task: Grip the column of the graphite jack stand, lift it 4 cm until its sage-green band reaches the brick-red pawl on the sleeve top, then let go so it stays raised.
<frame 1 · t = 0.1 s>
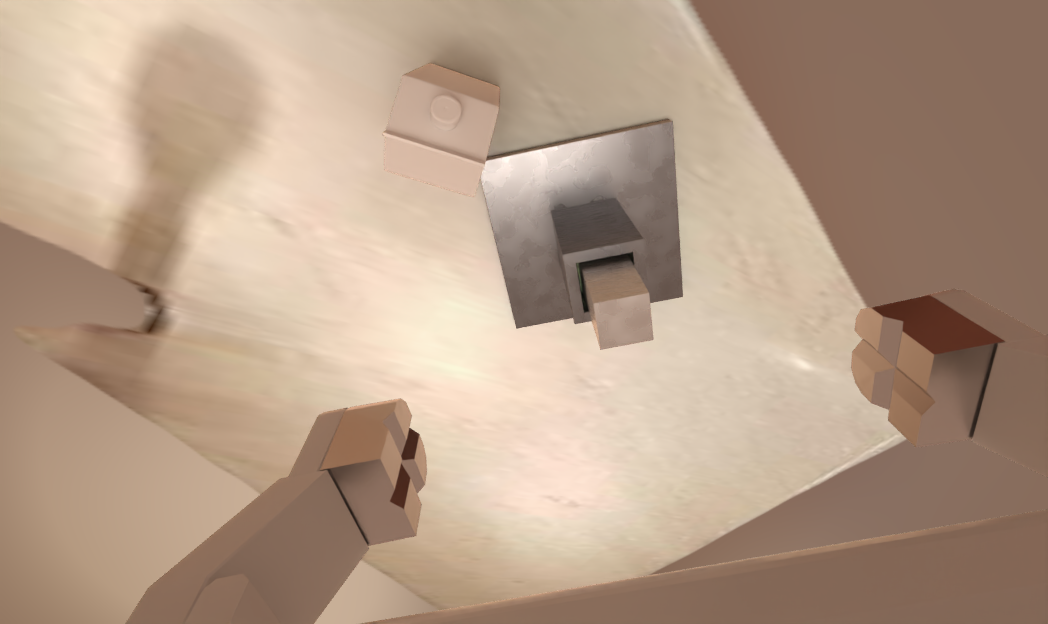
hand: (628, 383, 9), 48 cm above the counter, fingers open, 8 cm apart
jack base: (585, 230, 59), on the counter
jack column: (603, 273, 48), point 12 cm above the counter, slide at 0.0 cm
milk carton: (456, 111, 52), on the counter
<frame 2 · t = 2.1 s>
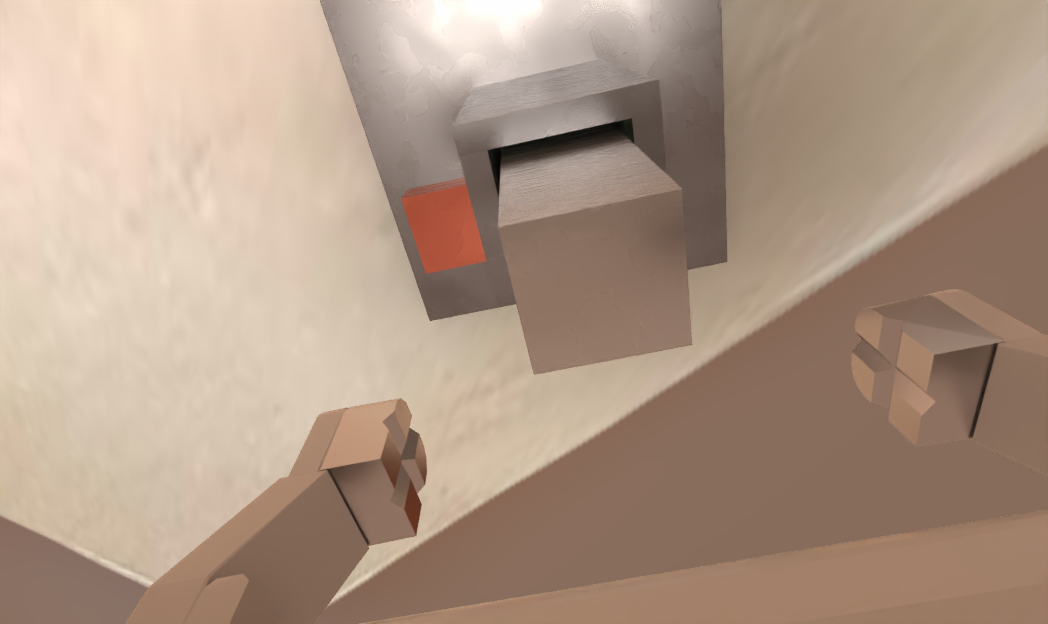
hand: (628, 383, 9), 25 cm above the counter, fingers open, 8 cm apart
jack base: (545, 134, 31), on the counter
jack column: (565, 189, 21), point 12 cm above the counter, slide at 0.0 cm
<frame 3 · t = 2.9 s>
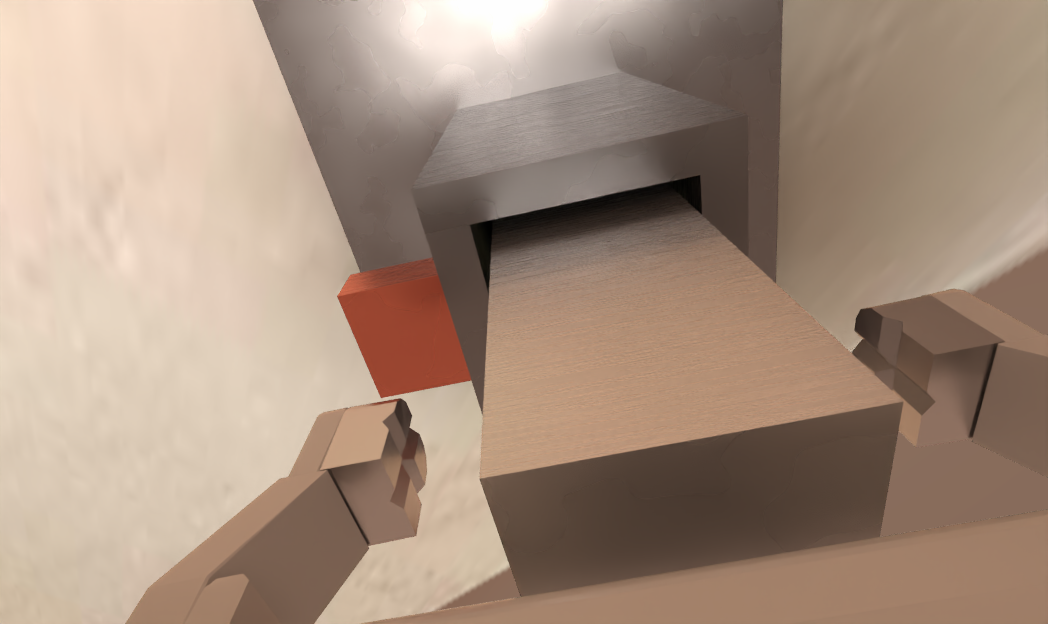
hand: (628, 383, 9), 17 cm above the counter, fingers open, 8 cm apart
jack base: (550, 166, 25), on the counter
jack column: (587, 267, 14), point 12 cm above the counter, slide at 0.0 cm
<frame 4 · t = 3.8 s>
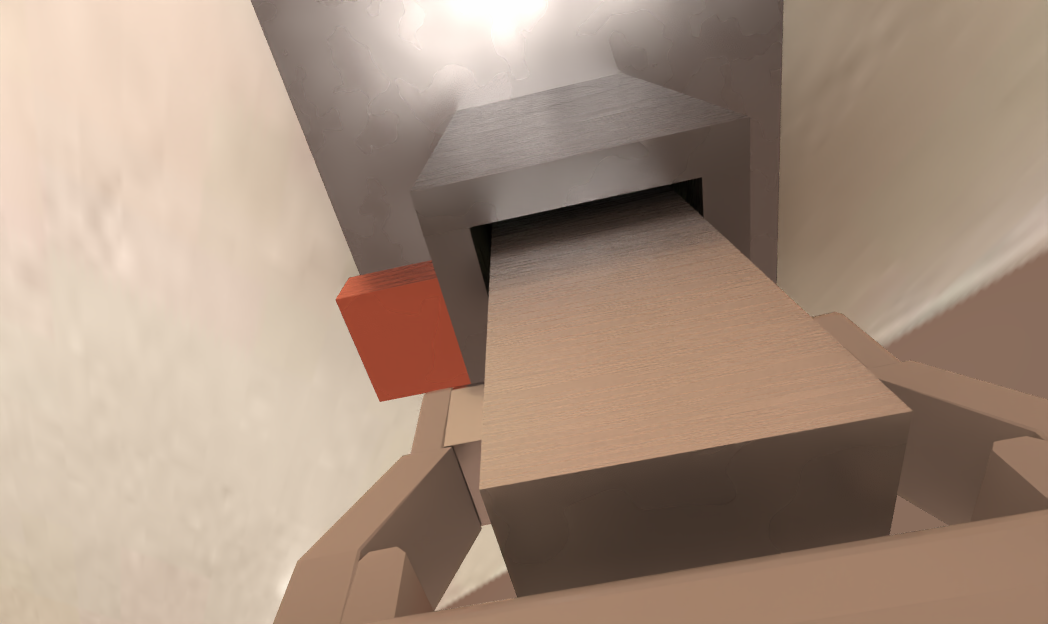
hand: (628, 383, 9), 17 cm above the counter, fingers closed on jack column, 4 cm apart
jack base: (550, 167, 25), on the counter
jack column: (587, 270, 14), point 12 cm above the counter, slide at 0.0 cm, touching gripper
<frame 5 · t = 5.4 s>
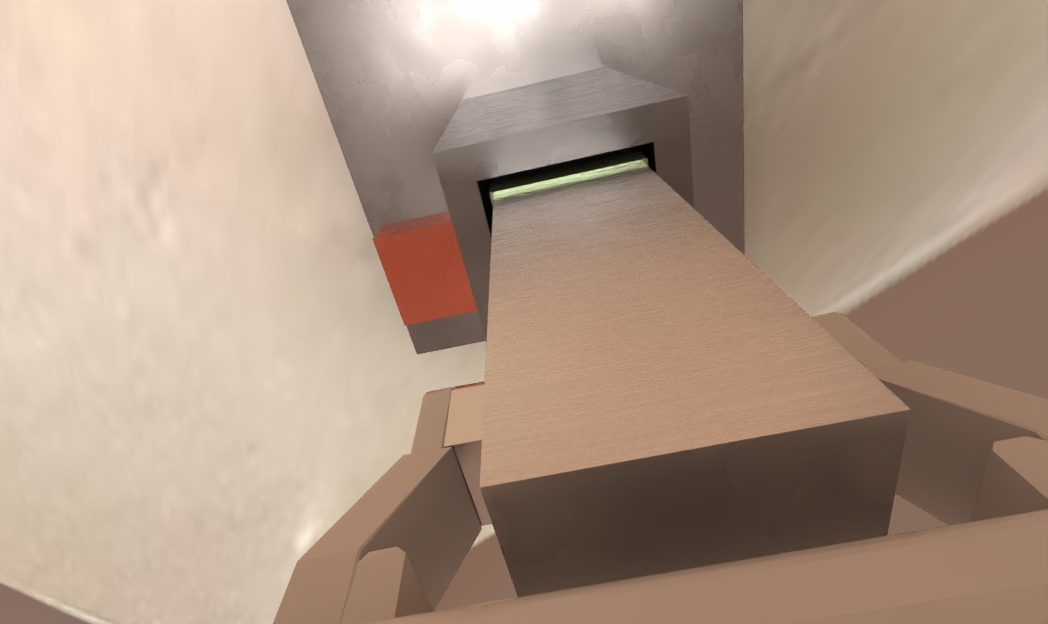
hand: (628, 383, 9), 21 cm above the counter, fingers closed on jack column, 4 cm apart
jack base: (544, 150, 28), on the counter
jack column: (587, 269, 14), point 16 cm above the counter, slide at 3.9 cm, touching gripper
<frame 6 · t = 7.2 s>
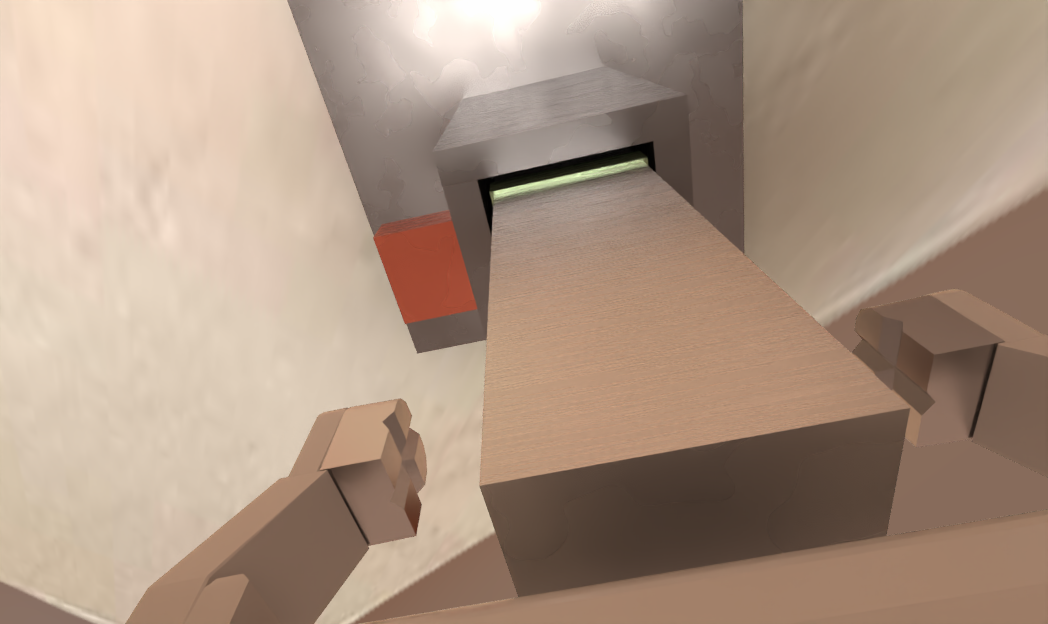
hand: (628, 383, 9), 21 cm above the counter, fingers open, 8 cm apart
jack base: (544, 149, 28), on the counter
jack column: (587, 269, 14), point 16 cm above the counter, slide at 3.9 cm
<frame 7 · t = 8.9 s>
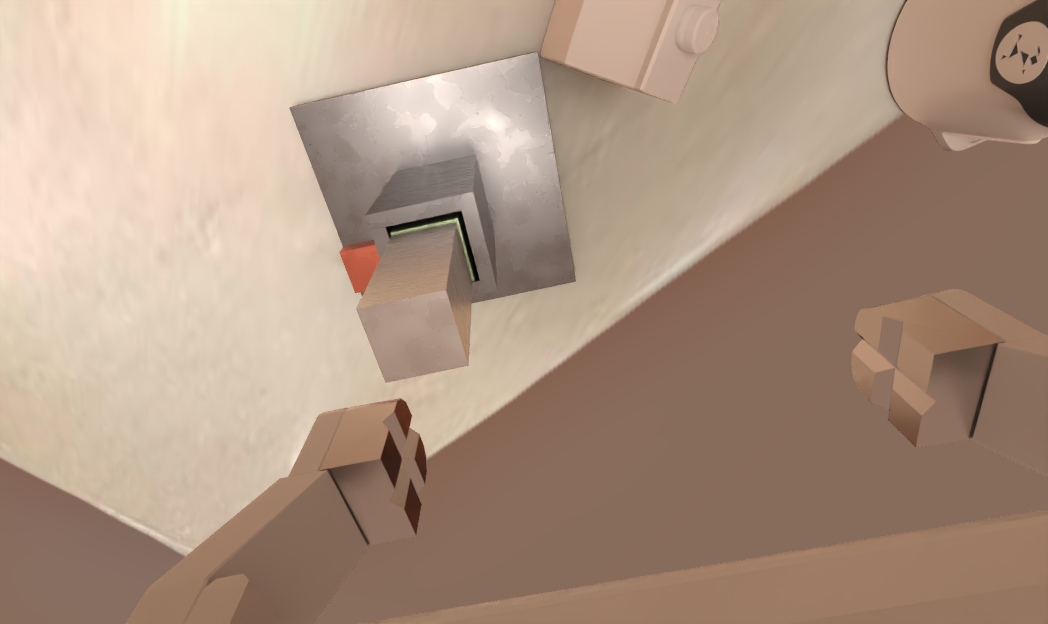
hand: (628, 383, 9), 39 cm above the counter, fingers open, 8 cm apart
jack base: (447, 198, 47), on the counter
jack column: (431, 265, 33), point 16 cm above the counter, slide at 3.9 cm
milk carton: (594, 24, 41), on the counter
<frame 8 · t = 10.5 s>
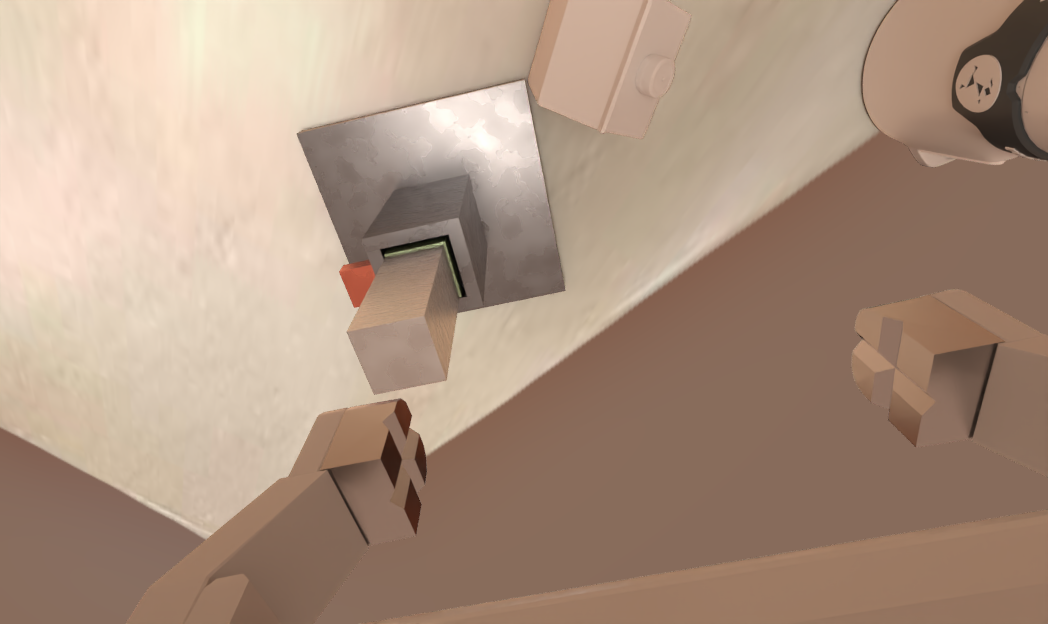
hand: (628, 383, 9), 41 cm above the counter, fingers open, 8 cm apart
jack base: (443, 213, 50), on the counter
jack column: (420, 285, 36), point 16 cm above the counter, slide at 3.9 cm
milk carton: (579, 52, 44), on the counter
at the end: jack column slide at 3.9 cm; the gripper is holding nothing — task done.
